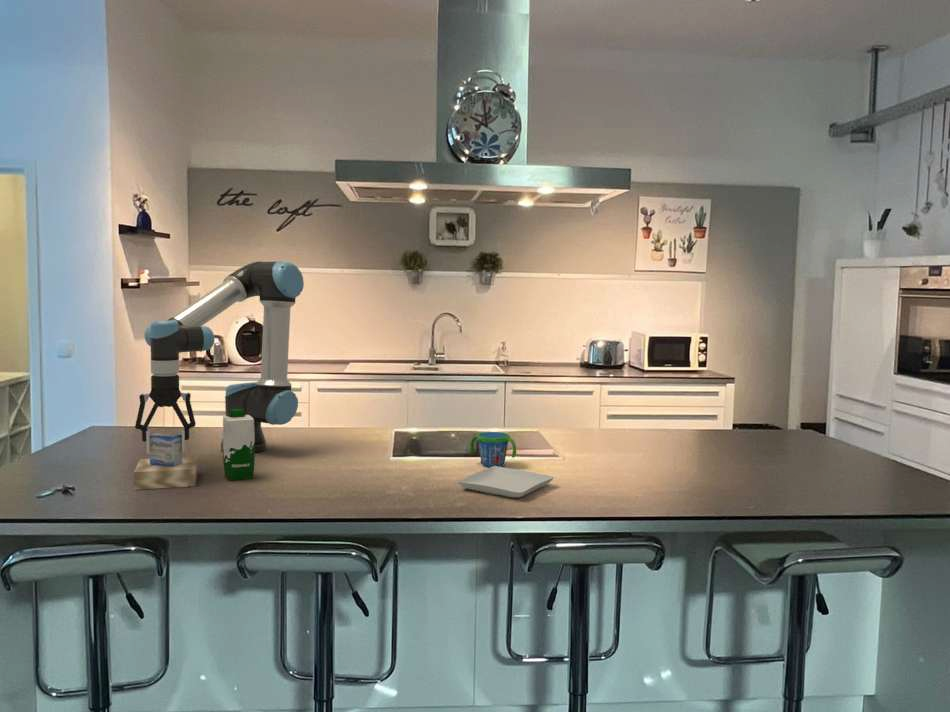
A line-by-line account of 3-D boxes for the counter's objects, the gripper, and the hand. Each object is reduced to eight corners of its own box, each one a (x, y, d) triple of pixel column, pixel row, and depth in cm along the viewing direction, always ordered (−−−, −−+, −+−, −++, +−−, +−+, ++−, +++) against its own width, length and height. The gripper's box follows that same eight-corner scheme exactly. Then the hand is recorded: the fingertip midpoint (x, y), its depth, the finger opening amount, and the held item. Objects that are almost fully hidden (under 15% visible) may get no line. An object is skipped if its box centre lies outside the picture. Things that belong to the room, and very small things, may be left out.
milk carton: (250, 472, 239) (250, 407, 237) (257, 479, 231) (256, 412, 229) (221, 474, 235) (220, 409, 233) (226, 482, 227) (225, 414, 225)
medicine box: (149, 464, 225) (148, 435, 224) (158, 461, 229) (157, 432, 228) (174, 466, 223) (173, 436, 222) (182, 463, 227) (182, 433, 227)
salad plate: (520, 503, 212) (521, 491, 212) (455, 491, 223) (455, 479, 223) (555, 487, 230) (555, 475, 230) (493, 476, 241) (493, 465, 241)
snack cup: (463, 465, 253) (464, 434, 252) (480, 459, 262) (480, 429, 261) (505, 472, 245) (506, 440, 244) (521, 465, 254) (522, 434, 253)
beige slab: (197, 472, 237) (197, 456, 236) (195, 486, 222) (195, 468, 221) (140, 475, 232) (140, 459, 231) (134, 489, 217) (133, 472, 216)
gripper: (205, 372, 230) (205, 447, 232) (125, 373, 224) (127, 450, 226) (204, 375, 223) (205, 453, 225) (122, 376, 217) (124, 456, 219)
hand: (166, 451), depth 226 cm, fingers closed on medicine box, 9 cm apart
